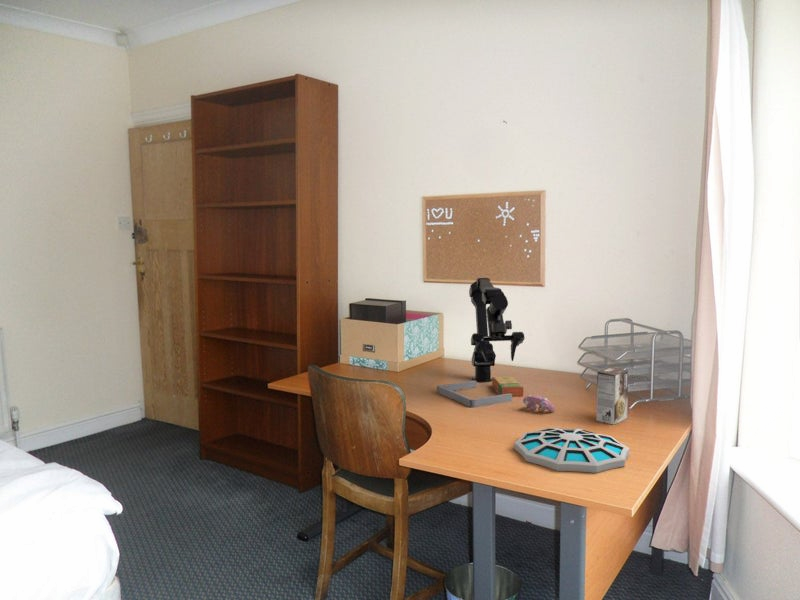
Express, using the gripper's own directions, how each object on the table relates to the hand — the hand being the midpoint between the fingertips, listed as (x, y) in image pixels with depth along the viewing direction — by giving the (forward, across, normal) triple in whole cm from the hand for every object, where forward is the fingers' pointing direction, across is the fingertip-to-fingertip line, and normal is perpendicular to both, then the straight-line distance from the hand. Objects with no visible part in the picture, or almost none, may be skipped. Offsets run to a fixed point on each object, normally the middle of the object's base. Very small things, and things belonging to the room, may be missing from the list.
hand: (499, 361), depth 219 cm
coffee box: (+26, +31, -14) cm, 43 cm away
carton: (+7, +5, +18) cm, 20 cm away
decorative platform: (+39, +10, -38) cm, 56 cm away
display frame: (+9, -8, +12) cm, 17 cm away
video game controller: (+20, +10, -5) cm, 23 cm away
